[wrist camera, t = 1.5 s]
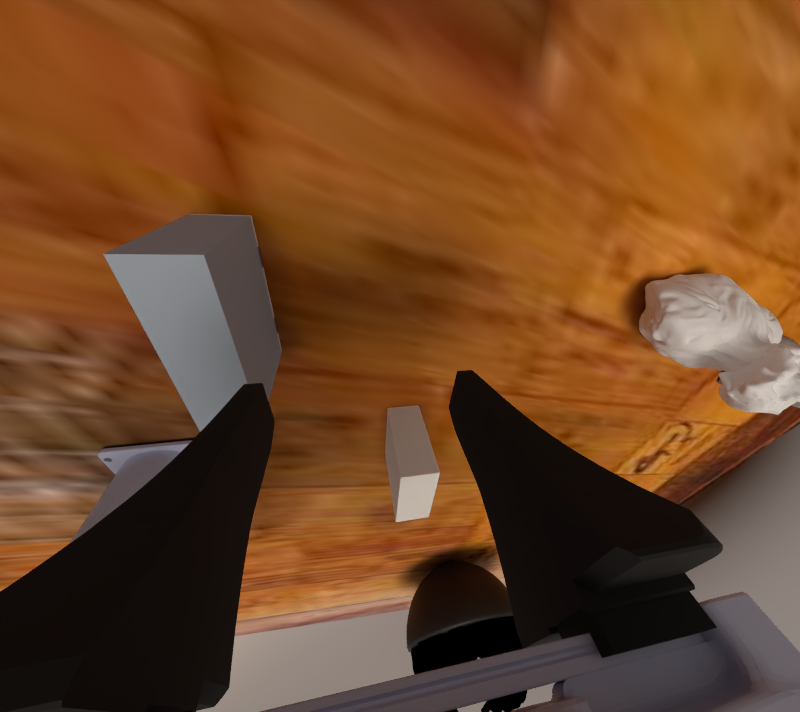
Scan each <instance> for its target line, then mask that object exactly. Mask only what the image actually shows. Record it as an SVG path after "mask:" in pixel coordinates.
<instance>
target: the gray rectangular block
mask: <svg viewBox="0 0 800 712" xmlns="http://www.w3.org/2000/svg"><path fill="white" fill-rule="evenodd" d="M104 256H105V258H106V260H107V262H108V264H109V266H110V267H111V269H112V271H113V273H114V275H115V277H116V278H117V280H118V282H119V284H120V286H121V288H122V289H123V291H124V293H125V295H126V297H127V299H128V300H129V302H130V304H131V306H132V308H133V310H134V311H135V313H136V315H137V317H138V319H139V321H140V322H141V324H142V326H143V328H144V330H145V332H146V334H147V335H148V337H149V339H150V341H151V343H152V345H153V346H154V348H155V350H156V352H157V354H158V356H159V357H160V359H161V361H162V363H163V365H164V367H165V368H166V370H167V372H168V374H169V376H170V378H171V379H172V381H173V383H174V385H175V387H176V389H177V390H178V392H179V394H180V396H181V398H182V400H183V401H184V403H185V405H186V407H187V409H188V411H189V413H190V414H191V416H192V418H193V420H194V422H195V424H196V425H197V427H198V429H199V431H200V432H201V431H202V430H203V429H204V428H205V427H206V426H207V424H208V423H209V422H210V421H211V420H212V419H213V418H214V417H215V416H216V415H217V414H218V412H219V411H220V410H221V409H222V408H223V407H224V406H225V405H226V404H227V402H228V401H229V400H230V399H231V398H232V397H233V396H234V394H235V393H236V392H237V391H238V390H239V389H240V388H241V387H242V386H243V385H244V384H253V383H263V386H264V389H265V392H266V395H267V399H268V402H269V398H270V394H271V391H272V387H273V383H274V379H275V376H276V372H277V368H278V365H279V361H280V357H281V353H282V348H281V343H280V339H279V335H278V330H277V326H276V321H275V317H274V312H273V308H272V303H271V299H270V294H269V290H268V285H267V281H266V277H265V272H264V268H263V263H262V259H261V254H260V250H259V245H258V241H257V236H256V232H255V228H254V223H253V219H252V215H224V214H191V213H190V214H188V215H186V216H184V217H182V218H179V219H177V220H175V221H173V222H171V223H169V224H167V225H164V226H162V227H160V228H158V229H156V230H154V231H152V232H149V233H147V234H145V235H143V236H141V237H139V238H137V239H134V240H132V241H130V242H128V243H126V244H124V245H122V246H119V247H117V248H115V249H113V250H111V251H109V252H107V253H104Z"/></svg>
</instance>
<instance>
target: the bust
mask: <svg viewBox="0 0 800 712" xmlns="http://www.w3.org/2000/svg"><path fill="white" fill-rule="evenodd" d="M645 292H646V294H645V300H646V308H645V310H644V312H643V313H642V315H641V317H640V320H639V330H640V333H641V334H642V335H643V336H644V337H645V339H647V340H648V341H649V342H651V343H652V346H653V348H654V349H655V350H656V351H657V352H658V353H660V354H661V355H663V356H667V357H670V358H671V359H673V360H674V361H675V362H678V363H679V364H681V365H683V366H686V367H690V368H711V369H715V370H723V371H726V372H721V373H719V374H718V375H719V377H720V379H721V381H722V384H723V385H721V386H720V388H719V394H720V396H721V398H722V400H724V401H725V402H726V403H727V404H728V405H729V406H731V407H732V408H735V409H738V410H742V411H746V412H763V413H773V414H777V415H779V414H778V413H781V412H782V410H784V409H786V408H787V407H789V406H790V405H792V404H794V403H796V402H800V348H795V347H792V346H789V345H780V344H778V343H779V342H780V341H781V339H782V333H783V331H782V328H781V326H780V324H779V321H778V320H777V318H776V317H775V316H774V315H773V314H772V313H771V312H769V311H768V310H767V309H766V308H765V307H763V306H761V305H759V304H757V303H756V302H755V301H754V299H753V298H752V297H751V296H749V295H748V294H747V293H746V292H745V291H744V290H743V289H742V288H740V287H739V286H738V285H737V284H736V283H735V282H734V281H733V280H731V279H730V278H729V277H727V276H725V275H721V274H715V273H709V274H692V275H682V274H678V275H674V276H672V277H670V278H668V279H665V280H655V281H651V282H649V283H648V284H647V285H646V286H645Z"/></svg>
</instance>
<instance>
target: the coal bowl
mask: <svg viewBox="0 0 800 712" xmlns="http://www.w3.org/2000/svg"><path fill="white" fill-rule="evenodd" d="M407 648H408V651H409V652H411V656H412V661H413V671H414V674H419V673H424V672H428V671H432V670H436V669H440V668H445V667H449V666H453V665H457V664H461V663H465V662H470V661H474V660H477V657H479V658H481V659H482V658H486V657H491V656H495V655H499V654H503V653H507V652H511V651H516V650H520V649H524V648H523V647H522V644H521V642H520V639H519V636H518V633H517V630H516V626H515V622H514V617H513V612H512V608H511V604H510V599H509V595H508V591H507V588H506V587H505V585H504V584H503V583H502V582H501V581H500V580H499V579H498V578H497V577H495V576H494V575H493V574H492V573H490V572H489V571H487V570H486V569H484V568H482V567H480V566H478V565H475V564H472V563H468V562H450V563H446V564H443V565H441V566H439V567H437V568H436V569H434V570H433V571H432V572H430V573H429V574H428V575H427V576H426V577H425V578H424V580H423V581H422V582H421V584H420V585H419V587H418V589H417V590H416V593H415V595H414V597H413V600H412V603H411V606H410V610H409V615H408V622H407ZM526 694H527V690H525V691H521V692H517V693H514V694H510V695H506V696H502V697H499V698H495V699H491V700H487V702H486V703H485V705H484V706H483V708H482V709H481V712H489V711H490V710H491V711H492V712H502V710H503V711H504V712H510V711H512V710H514V709H517V708H519V707H520V705H521V703H523V702H524V701H525V698H526ZM446 712H458V710H457V709H454V710H450V711H446Z"/></svg>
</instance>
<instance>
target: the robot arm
mask: <svg viewBox="0 0 800 712" xmlns="http://www.w3.org/2000/svg"><path fill="white" fill-rule="evenodd" d="M449 410H450V414H451V418H452V421H453V425H454V428H455V431H456V434H457V436H458V439H459V441H460V444H461V446H462V449H463V451H464V453H465V456H466V458H467V461H468V463H469V465H470V468H471V470H472V472H473V475H474V477H475V480H476V482H477V485H478V488H479V490H480V493H481V496H482V499H483V503H484V506H485V509H486V512H487V516H488V519H489V522H490V526H491V529H492V533H493V536H494V540H495V543H496V547H497V551H498V555H499V559H500V562H501V566H502V570H503V574H504V578H505V582H506V586H507V591H508V595H509V599H510V604H511V608H512V612H513V617H514V622H515V626H516V630H517V633H518V636H519V639H520V642H521V644H522V647H523V648H524V649H520V650H516V651H511V652H507V653H503V654H499V655H495V656H491V657H486V658H482V659H478V660H474V661H470V662H465V663H461V664H457V665H453V666H449V667H445V668H440V669H436V670H432V671H428V672H424V673H419V674H415V675H411V676H407V677H403V678H399V679H394V680H390V681H386V682H382V683H378V684H374V685H369V686H365V687H361V688H357V689H353V690H349V691H345V692H340V693H336V694H332V695H328V696H323V697H320V698H315V699H311V700H307V701H303V702H299V703H295V704H290V705H286V706H282V707H277V708H273V709H269V710H265V711H261V712H446V711H450V710H454V709H457V708H461V707H465V706H469V705H472V704H476V703H480V702H483V701H487V700H491V699H495V698H499V697H502V696H506V695H510V694H514V693H517V692H521V691H525V690H529V689H532V688H536V687H540V686H544V685H548V684H551V683H555V682H556V683H555V684H554V686H553V689H552V690H553V691H552V693H553V695H552V699H551V701H548V702H544V703H540V704H535V705H531V706H528V707H524V708H520V709H517V710H514V711H510V712H800V653H799V651H798V650H797V649H796V648H795V647H794V646H793V644H792V643H791V642H790V641H789V640H788V639H787V638H786V637H785V636H784V634H783V633H782V632H781V631H780V630H779V629H778V628H777V627H776V625H775V624H774V623H773V622H772V621H771V620H770V619H769V618H768V616H767V615H766V614H765V613H764V612H763V611H762V610H761V609H760V607H759V606H758V605H757V604H756V603H755V602H754V601H753V600H752V598H751V597H750V596H749V595H748V594H746V593H744V592H739V593H734V594H730V595H726V596H722V597H717V598H714V599H709V600H706V601H703V602H700V603H698V602H697V601H696V599H695V598H694V597H693V595H692V594H691V593H690V591H691V590H694V589H695V586H694V584H693V583H692V582H691V580H690V579H689V578H688V577H687V575H686V574H685V572H687V571H689V570H690V569H693V568H695V567H697V566H698V565H701V564H702V563H704V562H706V561H708V560H710V559H712V558H714V557H715V556H717V555H718V554H719V553H721V551H722V549H723V548H722V547H723V545H722V544H721V543H720V542H719V541H718V539H717V538H716V537H715V536H714V535H713V534H712V533H711V532H710V531H709V530H708V529H707V528H706V527H705V526H704V525H703V523H702V522H700V520H699V519H698V518H697V517H696V516H695V515H694V514H693V513H692V512H691V511H690V510H689V509H686V508H684V507H682V506H680V505H678V504H676V503H674V502H671V501H669V500H667V499H665V498H663V497H660V496H658V495H656V494H654V493H652V492H650V491H647V490H645V489H643V488H641V487H639V486H637V485H635V484H633V483H631V482H629V481H627V480H626V479H624V478H622V477H620V476H618V475H616V474H614V473H612V472H610V471H609V470H607V469H605V468H603V467H601V466H599V465H598V464H596V463H594V462H593V461H591V460H589V459H588V458H586V457H584V456H582V455H581V454H579V453H577V452H576V451H574V450H573V449H571V448H569V447H568V446H566V445H565V444H563V443H562V442H560V441H559V440H557V439H556V438H554V437H553V436H552V435H550V434H549V433H547V432H546V431H544V430H543V429H542V428H540V427H539V426H538V425H536V424H535V423H534V422H532V421H531V420H530V419H528V418H527V417H526V416H525V415H523V414H522V413H521V412H520V411H518V410H517V409H516V408H515V407H514V406H512V405H511V404H510V403H509V402H508V401H506V400H505V399H504V398H503V397H502V396H501V395H500V394H498V393H497V392H496V391H495V390H494V389H493V388H492V387H491V386H489V385H488V384H487V383H486V382H485V381H484V380H483V379H482V378H480V377H479V376H478V375H477V374H476V373H475V372H474V371H472V370H467V371H457V375H456V379H455V383H454V387H453V392H452V396H451V400H450V404H449ZM274 422H275V421H274V418H273V415H272V411H271V408H270V405H269V402H268V399H267V395H266V392H265V389H264V386H263V383H253V384H244V385H243V386H242V387H241V388H240V389H239V390H238V391H237V392H236V393H235V394H234V396H233V397H232V398H231V399H230V400H229V401H228V402H227V404H226V405H225V406H224V407H223V408H222V409H221V410H220V411H219V412H218V414H217V415H216V416H215V417H214V418H213V419H212V420H211V421H210V422H209V423H208V424H207V426H206V427H205V428H204V429H203V430H202V431H201V432H200V433H199V434H198V435H197V436H196V437H195V438H194V439H193V440H189V441H178V442H168V443H158V444H147V445H137V446H126V447H116V448H106V449H101V450H100V451H99V452H98V454H97V456H98V457H99V458H100V459H101V460H102V461H103V462H104V463H105V465H106V466H107V467H108V468H109V469H110V470H111V471H112V472H113V473H114V474H115V477H114V478H113V480H112V481H111V483H110V484H109V486H108V487H107V489H106V490H105V492H104V493H103V495H102V496H101V498H100V499H99V501H98V502H97V504H96V505H95V507H94V508H93V510H92V511H91V513H90V514H89V516H88V517H87V519H86V520H85V521H84V523H83V524H82V526H81V527H80V529H79V530H78V532H77V533H76V535H75V536H74V538H73V539H72V541H71V542H70V544H69V545H67V546H66V547H64V548H63V549H62V550H60V551H59V552H58V553H56V554H55V555H53V556H52V557H50V558H49V559H48V560H46V561H45V562H43V563H42V564H40V565H39V566H38V567H36V568H35V569H33V570H32V571H30V572H29V573H28V574H26V575H25V576H23V577H22V578H20V579H19V580H17V581H16V582H14V583H13V584H11V585H10V586H8V587H7V588H5V589H4V590H2V591H1V592H0V712H196V711H197V710H202V709H206V708H210V707H214V706H215V705H216V704H217V703H218V702H219V701H220V699H221V698H222V697H223V696H224V694H225V693H226V691H227V690H228V688H229V683H230V672H231V662H232V654H233V645H234V636H235V627H236V620H237V612H238V604H239V597H240V589H241V583H242V576H243V570H244V563H245V556H246V550H247V545H248V539H249V533H250V527H251V522H252V518H253V513H254V509H255V506H256V502H257V498H258V495H259V491H260V487H261V484H262V480H263V476H264V473H265V469H266V465H267V461H268V458H269V454H270V450H271V445H272V438H273V430H274Z"/></svg>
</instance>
